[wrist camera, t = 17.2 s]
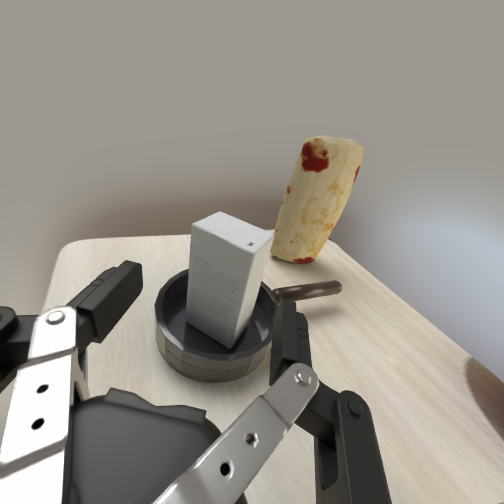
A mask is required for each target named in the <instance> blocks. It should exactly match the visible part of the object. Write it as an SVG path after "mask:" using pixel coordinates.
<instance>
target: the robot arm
mask: <svg viewBox="0 0 504 504" xmlns="http://www.w3.org/2000/svg"><path fill="white" fill-rule="evenodd" d="M142 288H143V277H142V265H141V264H140V263H136V262H132V261H128V260H126V261H124V262H123V263H122V264H121V265H120V266H119V267H112V268H110V269H108V270H106V271H104V272H103V273H101V274H100V275H99V276H98V277H97V278H96V280H94V281H92V282H91V283H90V285H88V286H87V287H86V288H85V289H83V290H82V291H81V292H80V293H79V294H78V295H77V296H76V297H74V298H73V299H72V300H71V301H70V302H69V303H68V304H67V305H65V306H57V307H53V308H50V309H48V310H46V311H44V312H43V313H41V314H40V315H16V313H15V311H14V310H13V309H12V308H10V307H5V306H0V393H1V392H2V391H3V390H4V389H5V388H6V387H7V386H8V385H9V384H10V382H12V380H13V379H14V378H15V377H16V382H15V386H14V391H13V395H12V400H11V405H10V409H9V415H8V419H7V423H6V428H5V433H4V437H3V442H2V447H1V450H0V504H248V503H247V500H246V497H245V494H244V491H245V490H246V488H247V487H248V485H249V484H250V483H251V481H252V480H253V479H254V477H255V476H256V474H257V473H258V472H259V470H260V469H261V468H262V466H263V465H264V463H265V462H266V461H267V459H268V458H269V457H270V455H271V454H272V452H273V451H274V450H275V448H276V447H277V446H278V444H279V443H280V441H281V440H282V439H283V437H284V436H285V435H286V433H287V432H288V430H289V429H290V428H291V426H292V425H293V424H294V423H295V424H296V425H298V426H299V427H301V428H302V429H304V430H305V431H307V432H308V433H310V434H311V435H313V436H314V455H315V482H316V504H392V502H391V498H390V493H389V489H388V485H387V480H386V476H385V472H384V467H383V463H382V459H381V454H380V450H379V446H378V441H377V437H376V433H375V428H374V424H373V420H372V415H371V412H370V409H369V407H368V405H367V403H366V402H365V401H364V400H363V399H362V398H361V397H360V396H359V395H358V394H356V393H355V392H352V391H348V390H345V391H342V392H341V393H338V392H336V391H335V390H333V389H331V388H330V387H328V386H326V385H325V384H323V383H322V382H321V381H320V380H319V379H318V377H317V375H316V373H315V372H314V370H313V368H312V362H311V352H310V342H309V333H308V323H307V320H306V318H305V316H304V315H303V313H299V312H296V302H294V301H290V300H286V299H282V300H281V302H280V305H279V307H278V310H277V313H276V315H275V318H274V322H273V330H272V346H271V363H270V379H269V386H271V387H270V388H269V389H268V390H267V391H266V392H265V393H264V394H263V395H260V396H258V397H257V398H256V399H255V400H254V401H253V402H252V403H251V404H250V405H249V406H248V407H247V409H246V410H245V411H244V412H243V413H242V414H241V415H240V416H239V417H238V418H237V419H236V420H235V421H234V422H233V423H232V424H231V425H230V426H229V427H228V428H227V429H226V430H225V431H224V432H223V433H221V432H220V430H219V429H218V428H217V427H216V426H215V425H214V424H213V423H212V422H211V421H210V420H208V419H207V418H205V416H206V410H202V409H198V408H194V407H190V406H186V405H171V406H155V405H153V404H151V403H149V402H148V401H146V400H145V399H143V398H141V397H140V396H138V395H137V394H135V393H132V392H128V391H124V390H119V389H115V388H110V389H109V391H108V393H107V394H106V395H101V396H96V397H92V398H90V396H89V390H88V356H87V347H88V345H89V344H90V343H91V342H95V343H99V344H101V343H102V341H103V340H104V339H105V338H106V336H107V335H108V334H109V333H110V331H111V330H112V329H113V327H114V326H115V325H116V324H117V322H118V321H119V320H120V319H121V317H122V316H123V315H124V314H125V312H126V311H127V310H128V309H129V307H130V306H131V305H132V303H133V302H134V301H135V300H136V298H137V297H138V296H139V295H140V293H141V291H142Z"/></svg>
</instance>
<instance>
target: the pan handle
mask: <svg viewBox="0 0 504 504" xmlns="http://www.w3.org/2000/svg"><path fill="white" fill-rule="evenodd" d="M341 290H342V285H341V283H340V282H338V281H327V282H320V283H312V284H305V285H298V286H291V287H284V288H277V289H274V290H272V294H273V296H274V297H276V299H277V300H278V303H279V304H280V302H281V300H282V299H286V300H290V301H298V300H304V299H310V298H315V297H321V296H327V295H333V294H338V293H340V292H341Z"/></svg>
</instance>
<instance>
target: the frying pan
mask: <svg viewBox="0 0 504 504" xmlns="http://www.w3.org/2000/svg"><path fill="white" fill-rule="evenodd" d="M188 275H189V269H186V270H184V271H182V272H180V273H178V274H177V275H175V276H173V277H172V278H170V279H169V280H168V281H167V283H166V284H165V285H164V286H163V287H162V288H161V289H160V291H159V294H158V297H157V299H156V302H155V305H154V306H155V329H156V341H157V344H158V347H159V350H160V352H161V353H162V355H163V357H164V358H165V360H166V361H167V362H168V363H169V364H170V365H171V366H172V367H173V368H174V369H175V370H177V371H178V372H180V373H181V374H183V375H185V376H187V377H189V378H192V379H195V380H198V381H203V382H212V383H220V382H228V381H232V380H236V379H239V378H241V377H244V376H246V375H247V374H249V373H251V372H252V371H254V370H255V369H256V368H257V367H258V366H259V365H260V364H261V363H262V362H263V361H264V359H265V358H266V356H267V354H268V352H269V351H270V349H271V346H272V330H273V322H274V318H275V315H276V313H277V310H278V307H279V303H278V300H277V299H276V297H274V296H273V294H272V291H271V289H270V288H269V287H268V286H267V285H266V284H265V283H264V282H262V281H261V284H260V288H259V291H258V295H257V298H256V302H255V305H254V309H253V312H252V316H251V319H250V323H249V325H248V326H247V327H246V329H245V330H244V331H243V333H242V334H241V336H240V337H239V339H238V340H237V341H236V343H235V344H234V345H233V347H232V348H231V349H228V348H227V347H225V346H224V345H222V344H220V343H219V342H217V341H216V340H214V339H213V338H211V337H209V336H208V335H206V334H205V333H203V332H201V331H200V330H198V329H197V328H195V327H193V326H192V325H190V324H189V323H187V322H186V304H187V289H188Z"/></svg>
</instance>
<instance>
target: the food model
mask: <svg viewBox="0 0 504 504" xmlns="http://www.w3.org/2000/svg"><path fill="white" fill-rule="evenodd" d="M363 156H364V149H363V147H361V146H360V145H359V144H358V143H357V142H355V141H354V140H351V139H346V138H339V137H327V136H324V135H321V136H317V137H308V138H307V139H305V141H304V143H303V145H302V148H301V150H300V153H299V156H298V159H297V161H296V164H295V167H294V169H293V172H292V175H291V177H290V180H289V183H288V186H287V189H286V192H285V195H284V198H283V202H282V206H281V209H280V212H279V216H278V219H277V223H276V227H275V232H274V239H273V242H272V246H271V249H270V252H271V253H272V254H273V255H274V256H276V257H277V258H279V259H282V260H285V261H289V262H294V263H310V262H312V261H313V260H314V259H315V257H316V256H317V255H318V253H319V252H320V250H321V249H322V247H323V245H324V244H325V242H326V240H327V239H328V237H329V235H330V234H331V232H332V230H333V229H334V227H335V225H336V223H337V221H338V219H339V217H340V215H341V214H342V211H343V208H344V206H345V204H346V202H347V200H348V198H349V195H350V192H351V190H352V187H353V184H354V182H355V179H356V176H357V174H358V171H359V168H360V165H361V163H362V160H363Z"/></svg>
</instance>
